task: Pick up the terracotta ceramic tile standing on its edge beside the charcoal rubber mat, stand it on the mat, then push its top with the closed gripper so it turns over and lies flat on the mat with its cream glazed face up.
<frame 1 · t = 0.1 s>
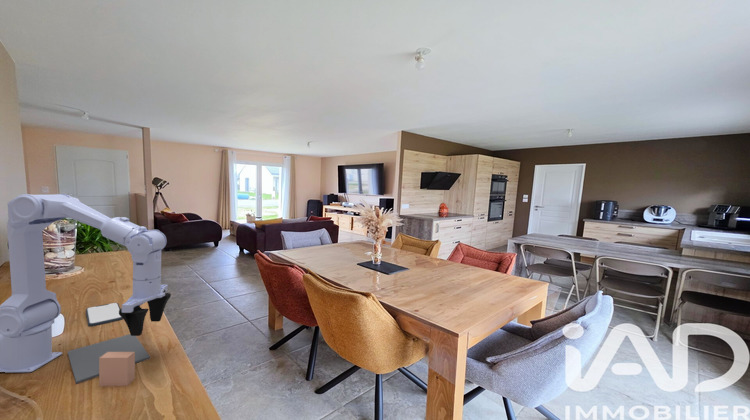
hand: (146, 327, 74), 10 cm above the table, tool pointing down, fingers open, 7 cm apart
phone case: (104, 316, 99), on the table
tile: (117, 382, 67), on the table
mat: (108, 356, 77), on the table
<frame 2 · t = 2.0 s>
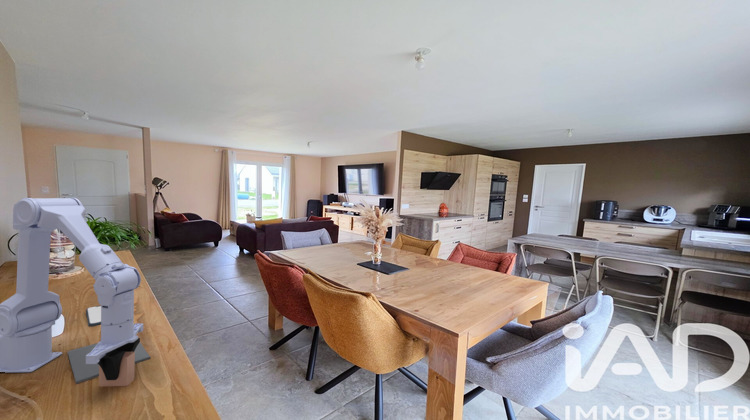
hand: (117, 374, 67), 2 cm above the table, tool pointing down, fingers closed on tile, 2 cm apart
tile: (117, 382, 67), on the table, touching gripper
everything else where it was.
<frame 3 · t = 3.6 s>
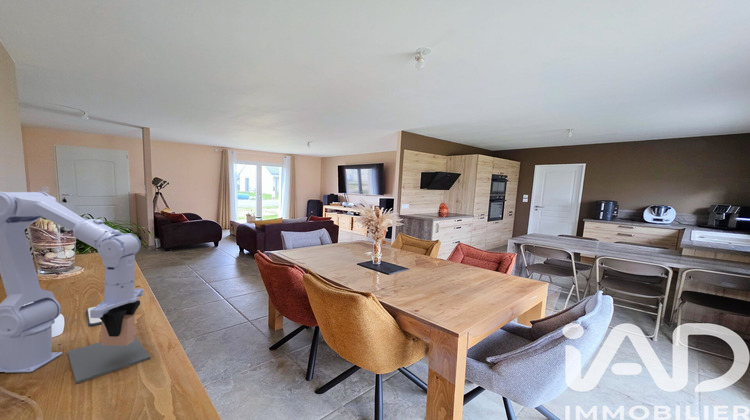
hand: (119, 332, 73), 9 cm above the table, tool pointing down, fingers closed on tile, 2 cm apart
tile: (118, 342, 73), point 6 cm above the table, touching gripper
everything else where it was.
when the fingers open (3 cm above the table, at t = 5.6 s): tile stays where it is, resting on mat.
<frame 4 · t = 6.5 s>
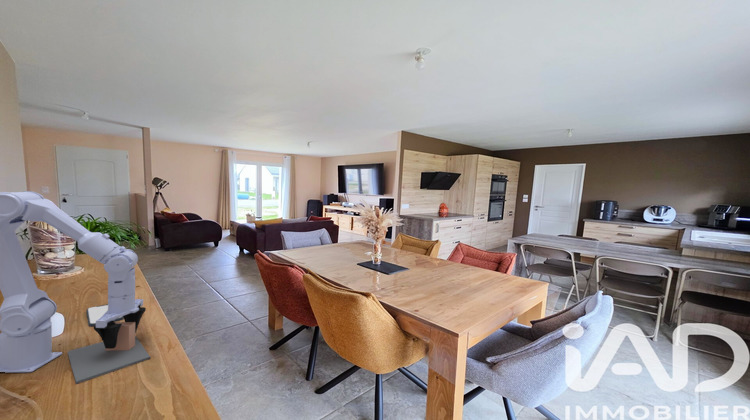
hand: (121, 340, 80), 3 cm above the table, tool pointing down, fingers open, 7 cm apart
tile: (120, 347, 80), point 1 cm above the table, touching mat
everything else where it was.
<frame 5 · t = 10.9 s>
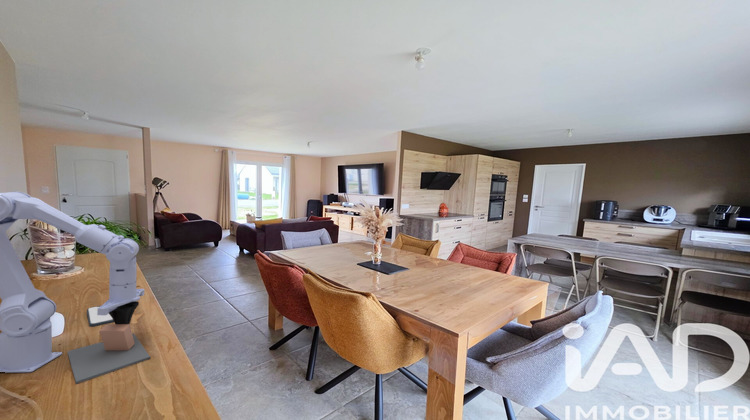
hand: (122, 329, 80), 6 cm above the table, tool pointing down, fingers closed
tile: (120, 346, 80), point 1 cm above the table, tilted 17°, touching gripper, mat
everything else where it was.
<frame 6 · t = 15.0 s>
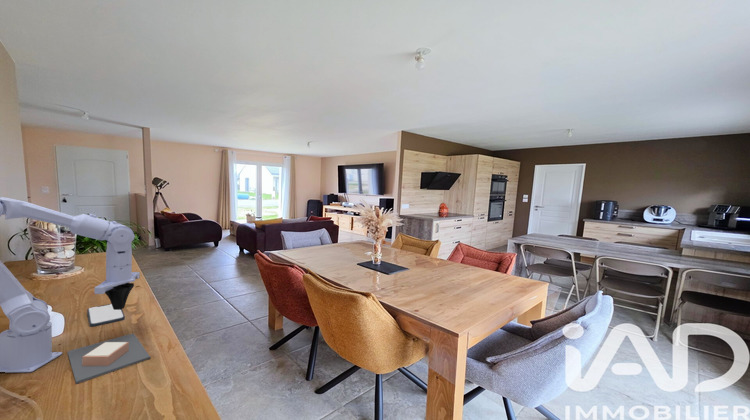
hand: (118, 308, 85), 9 cm above the table, tool pointing down, fingers closed
tile: (117, 346, 79), point 2 cm above the table, tilted 90°, touching mat
everything else where it was.
at the end: tile tilted 90°; tile inside the target area (0.3 cm from its centre), point 1.8 cm above the table; tile touching mat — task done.
